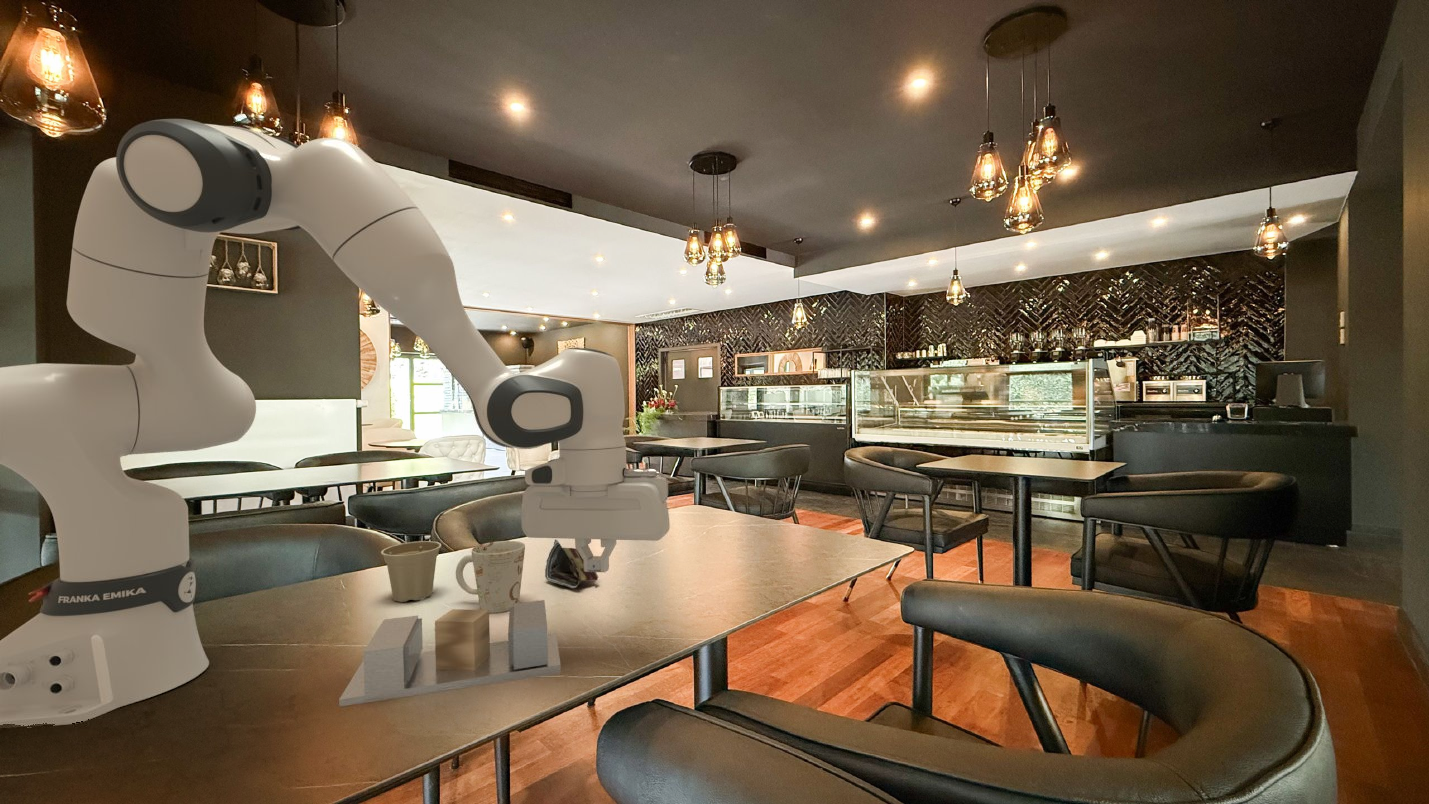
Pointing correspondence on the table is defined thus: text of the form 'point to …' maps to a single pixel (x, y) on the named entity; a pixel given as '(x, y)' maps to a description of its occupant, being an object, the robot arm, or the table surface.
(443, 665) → the block
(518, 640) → the block
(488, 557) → the mug
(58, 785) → the table surface
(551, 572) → the chocolate cake
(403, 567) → the flower pot
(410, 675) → the vise base
